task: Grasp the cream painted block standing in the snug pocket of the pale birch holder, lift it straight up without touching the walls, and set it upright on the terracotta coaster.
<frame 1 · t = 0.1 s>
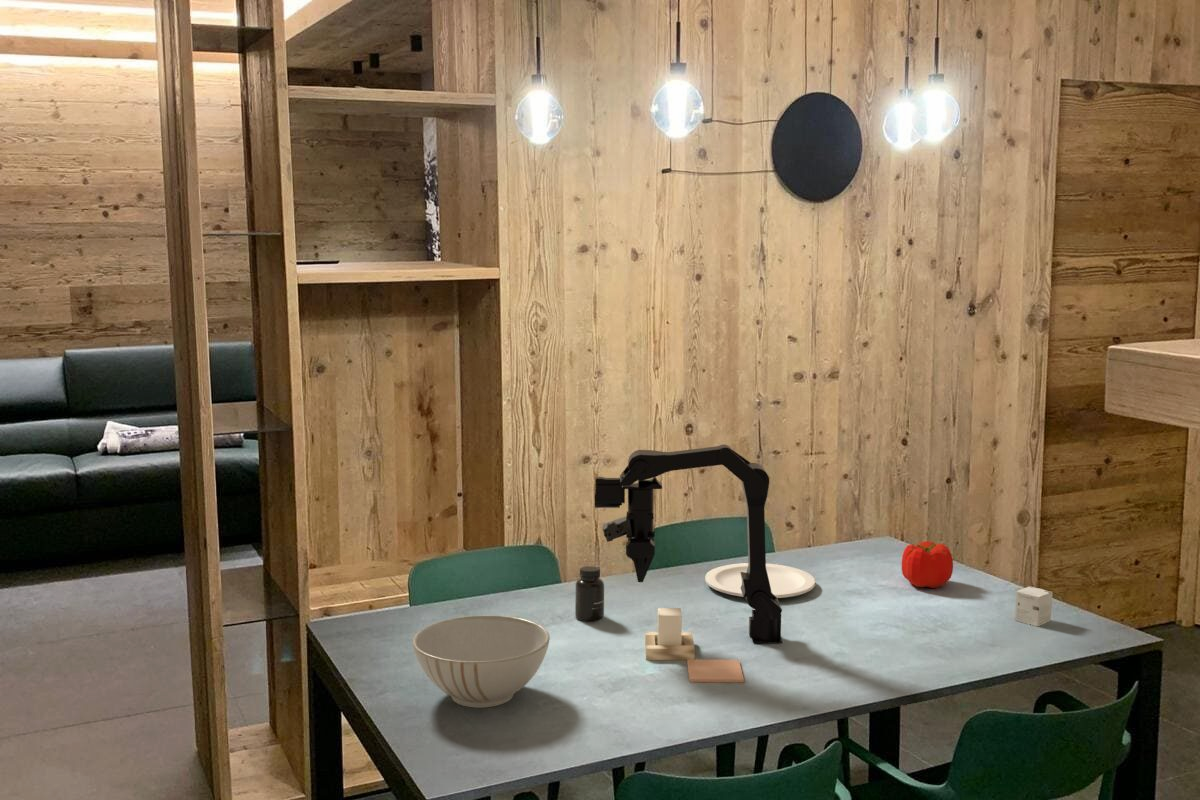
hand: (640, 575, 267), 15 cm above the table, fingers open, 9 cm apart
skincare box: (1032, 622, 280), on the table
cream block: (669, 631, 260), in the birch pocket holder
tomato: (925, 585, 308), on the table
terracotta coaster: (714, 672, 249), on the table
decorative bowl: (482, 696, 237), on the table
birch pocket holder: (669, 651, 261), on the table
plate: (759, 587, 307), on the table
supplement bottle: (589, 618, 283), on the table
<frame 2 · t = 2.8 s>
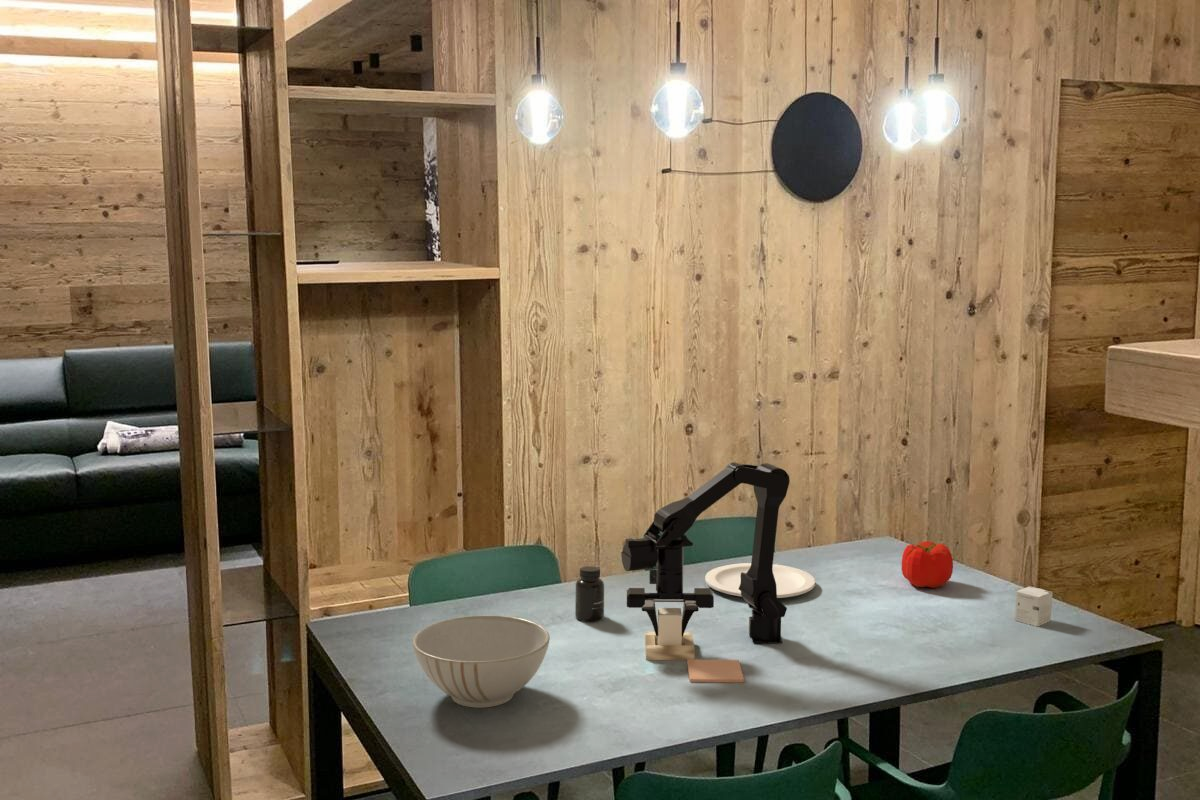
hand: (669, 635, 260), 4 cm above the table, fingers closed on cream block, 5 cm apart
cream block: (669, 631, 260), in the birch pocket holder, touching gripper
everything else where it was.
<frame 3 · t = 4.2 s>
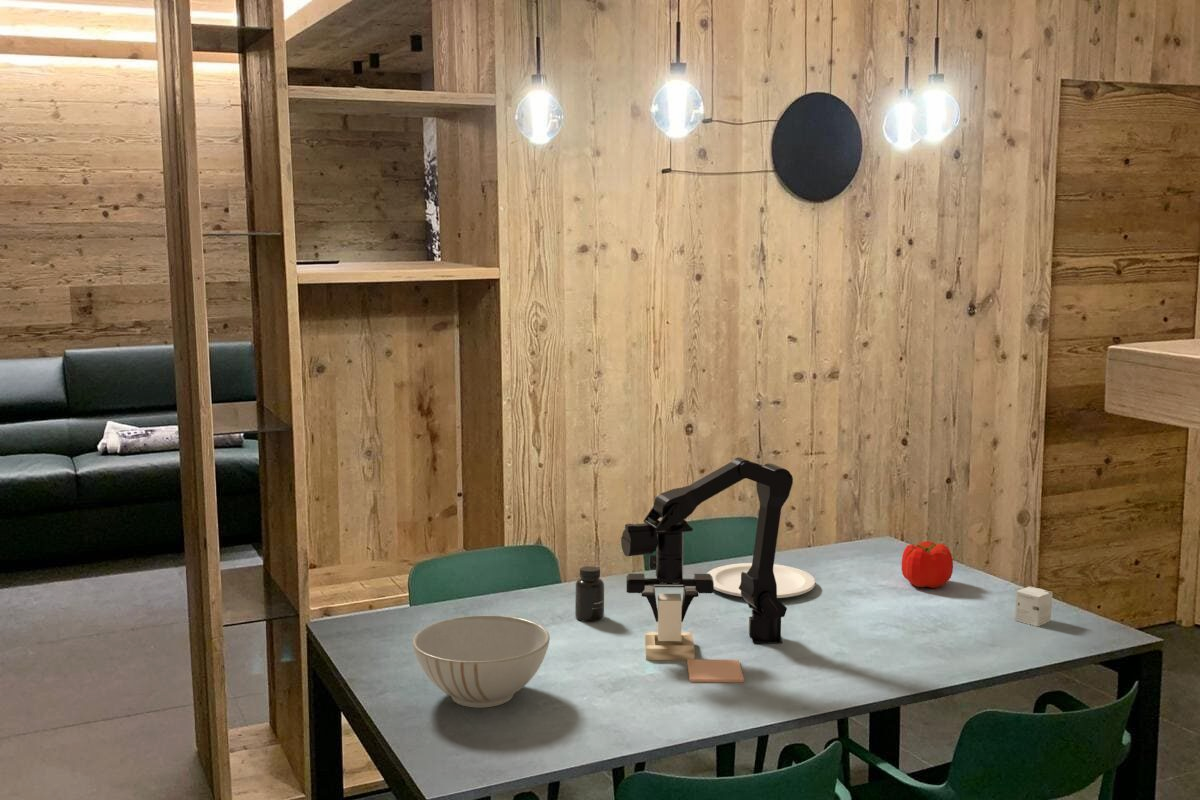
hand: (669, 621, 260), 7 cm above the table, fingers closed on cream block, 5 cm apart
cream block: (669, 617, 260), point 8 cm above the table, touching gripper
everything else where it was.
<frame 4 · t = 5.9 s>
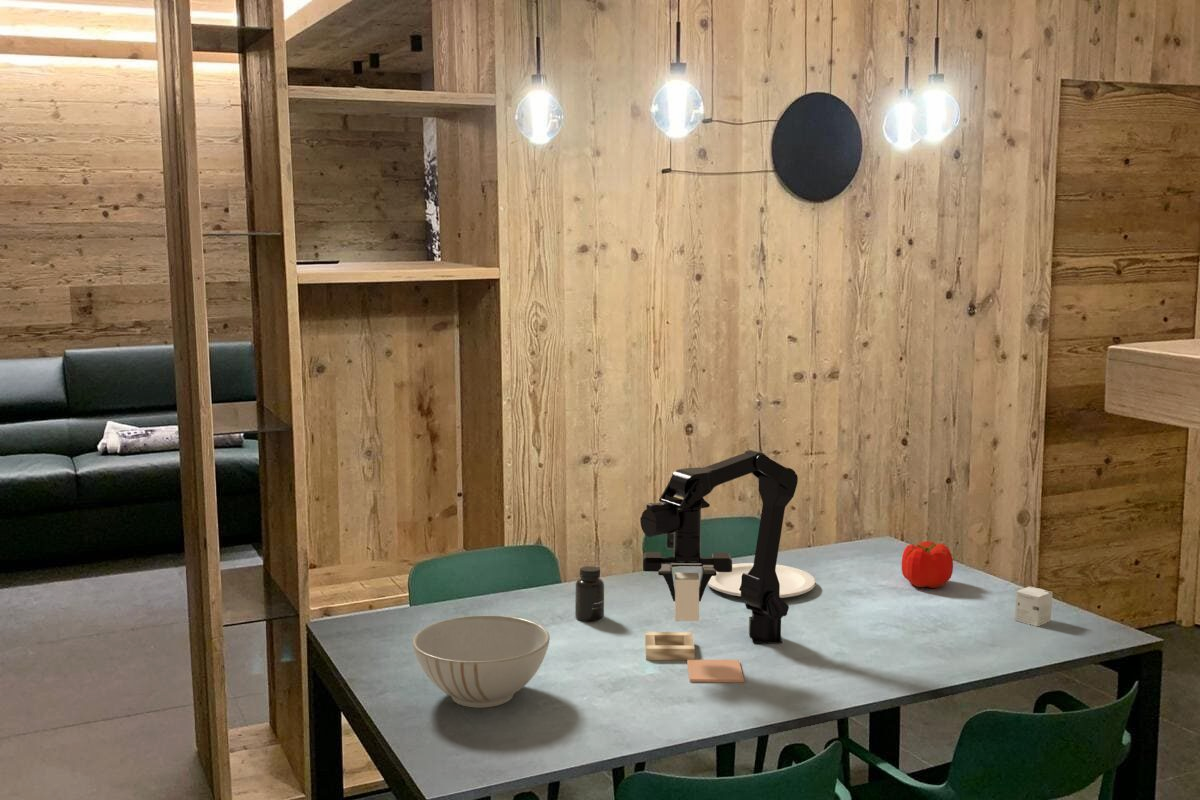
hand: (686, 600, 254), 13 cm above the table, fingers closed on cream block, 5 cm apart
cream block: (686, 596, 254), point 14 cm above the table, touching gripper
everything else where it was.
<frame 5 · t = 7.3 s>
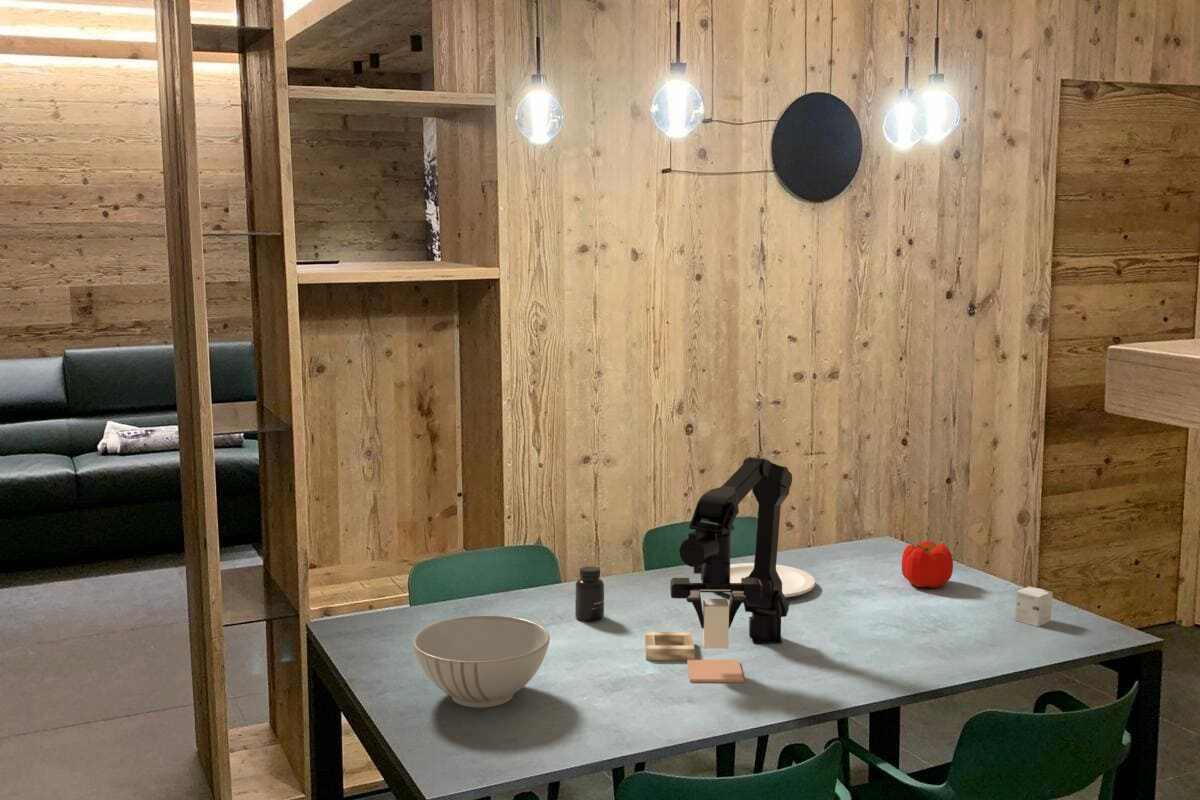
hand: (715, 627, 247), 10 cm above the table, fingers closed on cream block, 5 cm apart
cream block: (715, 623, 247), point 10 cm above the table, touching gripper
everything else where it was.
when the fingers open (6 cm above the table, at t = 8.8 s): cream block drops 1 cm, resting on terracotta coaster.
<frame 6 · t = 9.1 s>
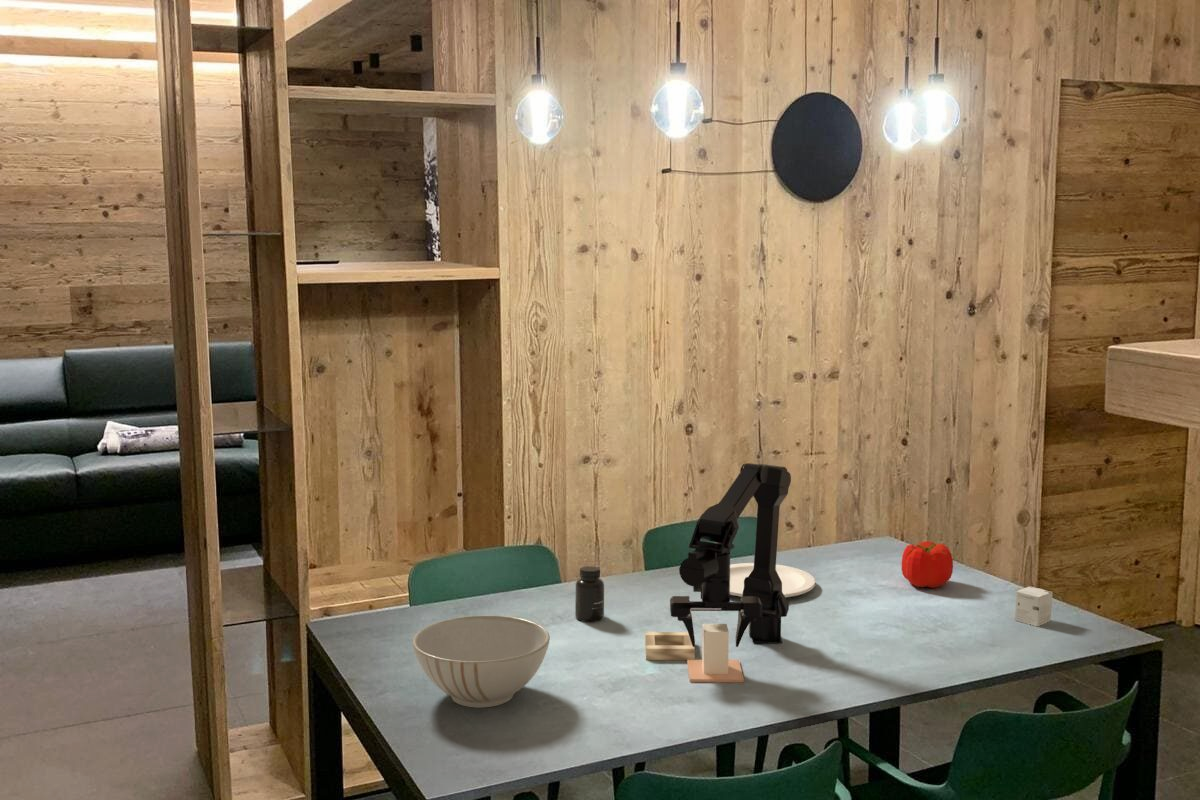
hand: (715, 646, 248), 6 cm above the table, fingers open, 9 cm apart
cream block: (715, 648, 248), on the terracotta coaster, point 5 cm above the table
everything else where it was.
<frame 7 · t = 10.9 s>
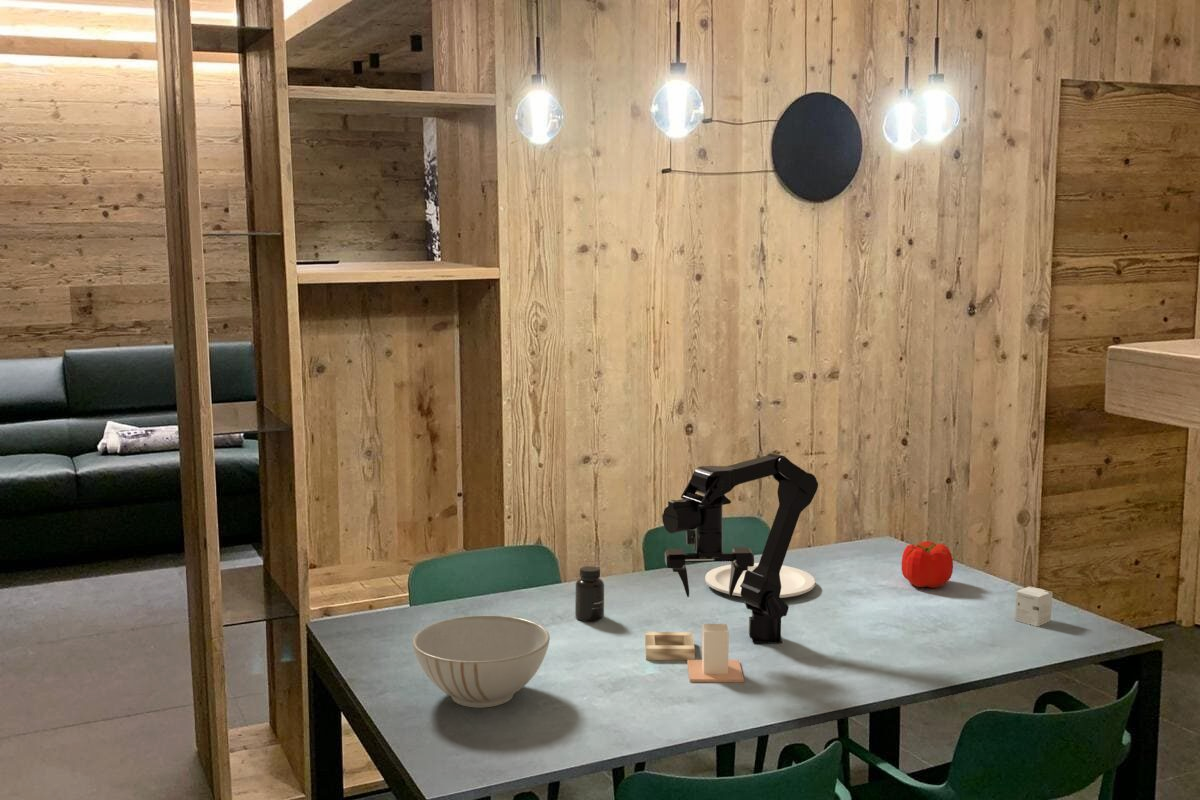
hand: (709, 595, 258), 13 cm above the table, fingers open, 9 cm apart
nothing on the table moved.
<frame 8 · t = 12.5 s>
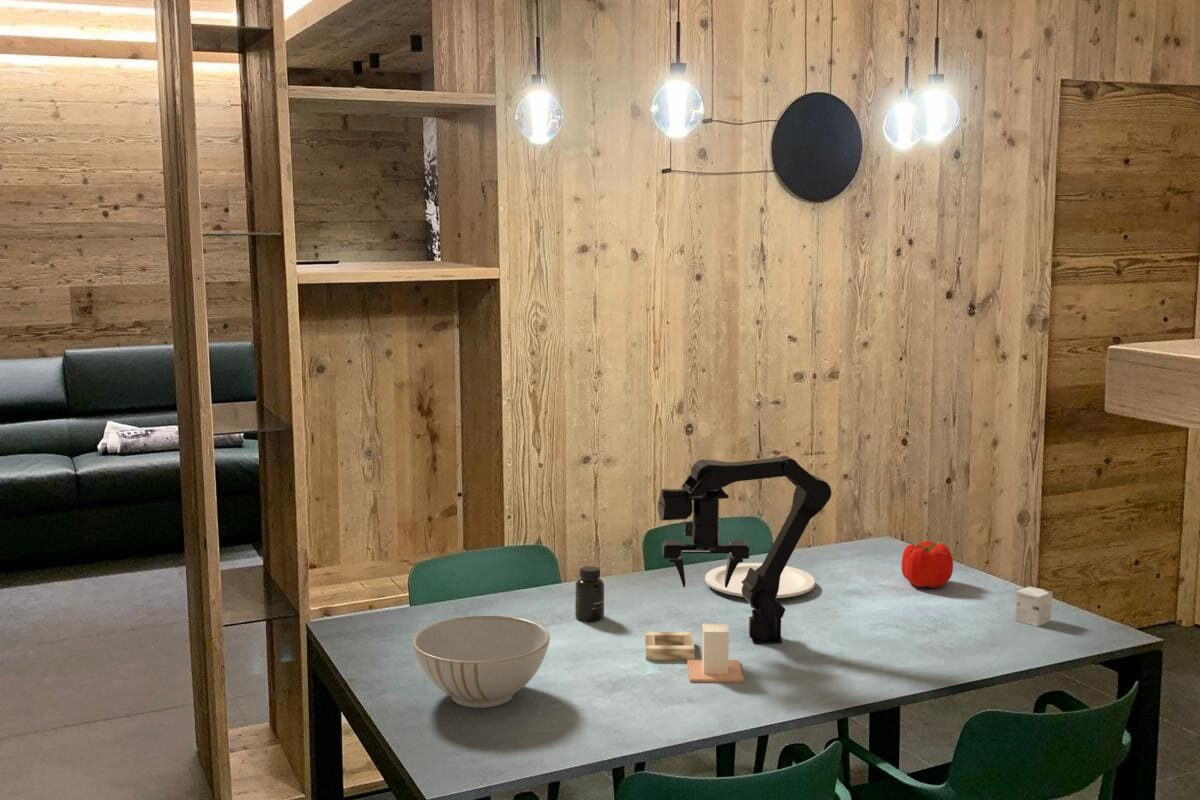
hand: (705, 586, 264), 13 cm above the table, fingers open, 9 cm apart
nothing on the table moved.
at the end: cream block inside the target area on the terracotta coaster (0.0 cm from its centre), point 5.1 cm above the terracotta coaster's base; cream block tilted 0°; the gripper is holding nothing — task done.
